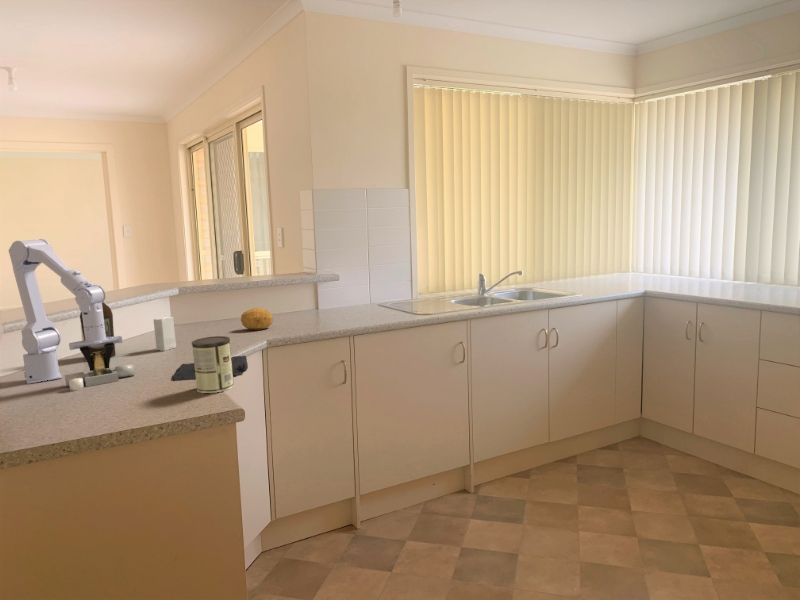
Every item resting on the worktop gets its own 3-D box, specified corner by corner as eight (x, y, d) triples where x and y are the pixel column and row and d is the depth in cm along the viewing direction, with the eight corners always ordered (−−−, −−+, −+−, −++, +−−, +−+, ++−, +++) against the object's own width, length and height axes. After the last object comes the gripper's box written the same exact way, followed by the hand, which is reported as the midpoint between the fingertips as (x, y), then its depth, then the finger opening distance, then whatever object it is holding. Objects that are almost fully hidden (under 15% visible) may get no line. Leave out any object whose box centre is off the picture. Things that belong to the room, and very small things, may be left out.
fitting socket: (67, 389, 178) (65, 378, 178) (65, 383, 186) (63, 372, 185) (136, 377, 188) (134, 366, 188) (131, 372, 196) (130, 361, 195)
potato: (270, 308, 256) (271, 303, 265) (238, 313, 253) (239, 307, 262) (273, 330, 258) (274, 324, 267) (241, 334, 256) (243, 328, 265)
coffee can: (202, 384, 177) (197, 337, 175) (237, 382, 177) (233, 335, 175) (191, 394, 167) (186, 344, 165) (229, 392, 167) (224, 342, 165)
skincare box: (168, 347, 233) (164, 316, 231) (177, 347, 231) (173, 316, 229) (155, 350, 227) (152, 319, 226) (164, 351, 226) (161, 319, 224)
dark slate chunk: (183, 370, 197) (181, 356, 196) (251, 365, 198) (250, 351, 198) (168, 383, 182) (167, 367, 181) (242, 378, 183) (241, 362, 183)
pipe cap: (70, 391, 176) (69, 381, 176) (69, 389, 179) (68, 379, 179) (84, 389, 178) (83, 379, 178) (83, 386, 181) (82, 377, 181)
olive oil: (83, 357, 223) (74, 289, 219) (114, 352, 229) (107, 286, 225) (87, 362, 214) (78, 292, 210) (119, 357, 220) (111, 288, 216)
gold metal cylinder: (93, 378, 184) (90, 354, 183) (93, 376, 188) (90, 352, 187) (107, 376, 186) (104, 352, 185) (107, 373, 190) (104, 350, 189)
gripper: (68, 331, 177) (73, 375, 179) (121, 324, 185) (126, 367, 187) (66, 327, 183) (72, 371, 185) (118, 321, 191) (123, 363, 193)
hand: (99, 369), depth 187 cm, fingers closed on gold metal cylinder, 4 cm apart
